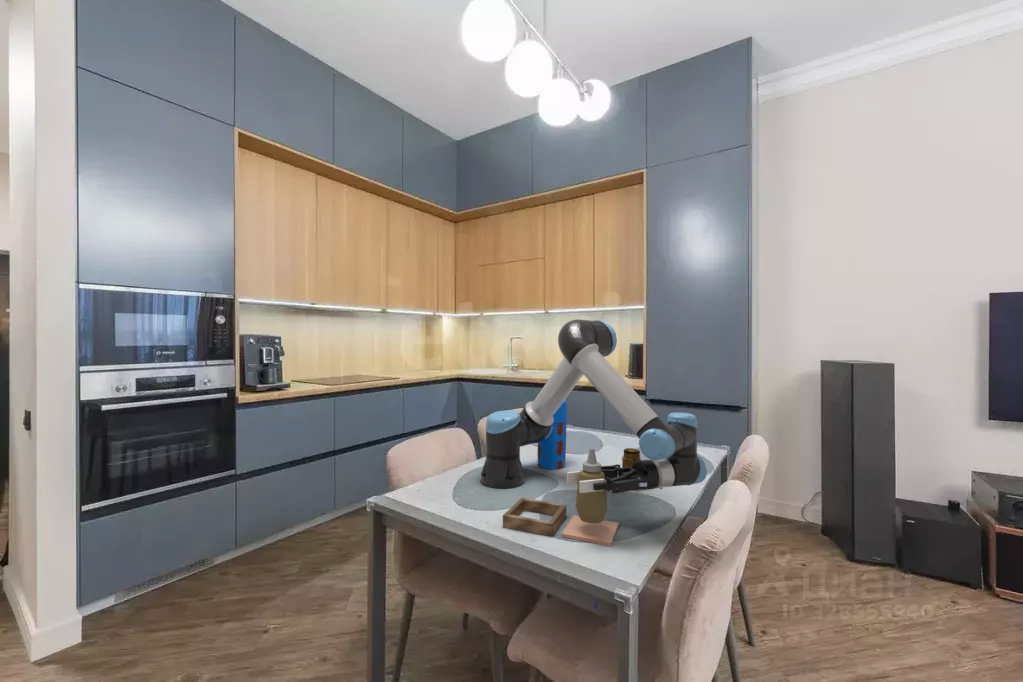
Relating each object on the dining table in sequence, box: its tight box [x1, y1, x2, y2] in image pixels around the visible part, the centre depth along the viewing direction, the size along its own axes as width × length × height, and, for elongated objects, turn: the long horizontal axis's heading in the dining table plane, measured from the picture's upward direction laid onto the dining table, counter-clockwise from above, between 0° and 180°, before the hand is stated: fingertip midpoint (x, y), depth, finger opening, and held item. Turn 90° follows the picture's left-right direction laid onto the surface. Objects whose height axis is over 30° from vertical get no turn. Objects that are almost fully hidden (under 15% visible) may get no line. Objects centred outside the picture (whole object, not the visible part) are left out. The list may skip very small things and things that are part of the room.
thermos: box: [537, 399, 568, 470], centre depth 165 cm, size 11×11×25 cm
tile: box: [561, 514, 620, 547], centre depth 109 cm, size 12×12×1 cm
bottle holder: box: [502, 497, 567, 537], centre depth 115 cm, size 13×13×3 cm
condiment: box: [621, 447, 642, 492], centre depth 143 cm, size 7×8×12 cm
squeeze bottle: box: [575, 448, 609, 524], centre depth 109 cm, size 8×8×18 cm
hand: (573, 482), depth 107 cm, fingers closed on squeeze bottle, 6 cm apart
